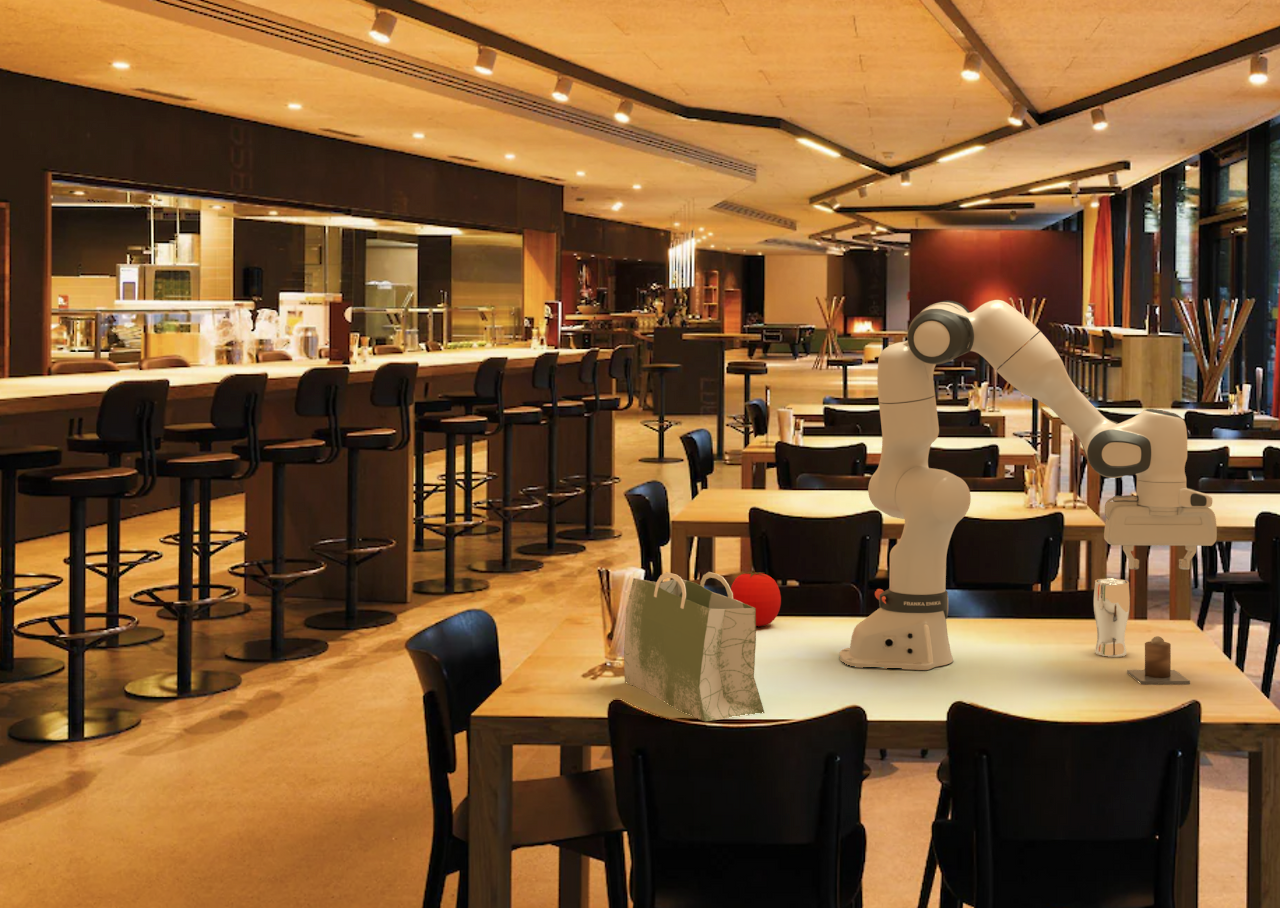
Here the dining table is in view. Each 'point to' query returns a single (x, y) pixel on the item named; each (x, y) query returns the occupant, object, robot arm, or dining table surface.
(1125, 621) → the beer glass
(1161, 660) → the pepper mill
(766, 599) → the tomato
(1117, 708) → the dining table surface
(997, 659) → the dining table surface
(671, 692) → the grocery bag
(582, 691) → the dining table surface
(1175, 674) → the coaster
